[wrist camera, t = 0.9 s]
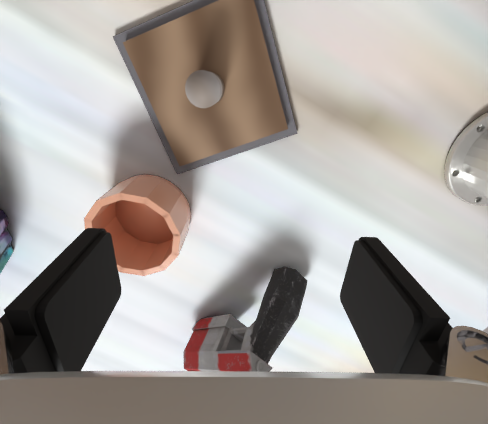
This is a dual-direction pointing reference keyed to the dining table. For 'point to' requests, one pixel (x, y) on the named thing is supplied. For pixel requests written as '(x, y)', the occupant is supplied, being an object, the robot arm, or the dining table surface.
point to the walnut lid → (209, 79)
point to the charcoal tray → (198, 3)
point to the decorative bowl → (4, 241)
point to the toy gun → (248, 330)
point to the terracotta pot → (143, 222)
